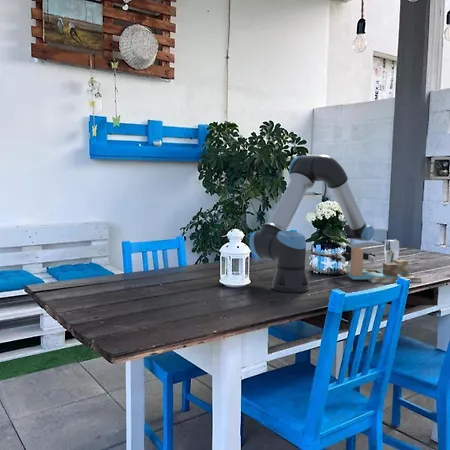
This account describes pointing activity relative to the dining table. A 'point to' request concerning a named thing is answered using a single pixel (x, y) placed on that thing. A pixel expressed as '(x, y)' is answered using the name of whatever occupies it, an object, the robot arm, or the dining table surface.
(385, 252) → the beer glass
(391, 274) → the walnut block
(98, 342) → the dining table surface
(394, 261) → the oak block
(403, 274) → the lane board
